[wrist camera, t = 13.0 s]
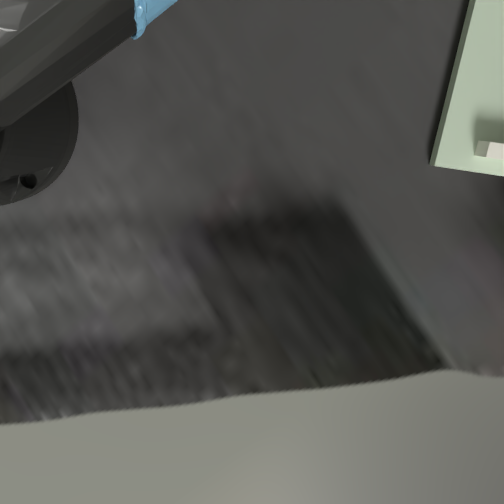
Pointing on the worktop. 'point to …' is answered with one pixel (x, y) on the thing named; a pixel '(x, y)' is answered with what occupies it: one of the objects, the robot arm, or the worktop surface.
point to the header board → (475, 96)
